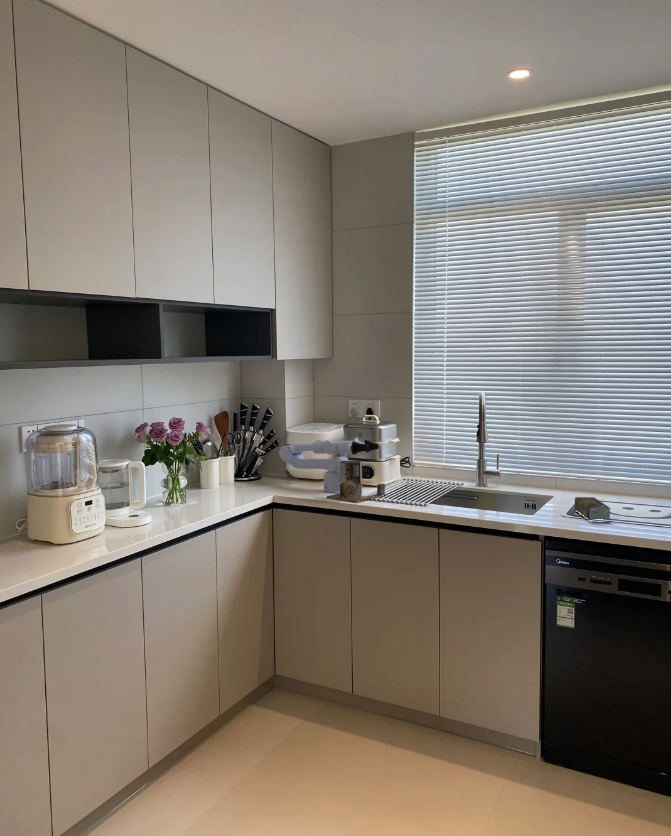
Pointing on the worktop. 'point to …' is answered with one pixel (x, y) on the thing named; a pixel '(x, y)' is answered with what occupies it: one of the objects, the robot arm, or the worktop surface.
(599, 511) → the beverage carton
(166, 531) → the worktop surface
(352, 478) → the coffee box
